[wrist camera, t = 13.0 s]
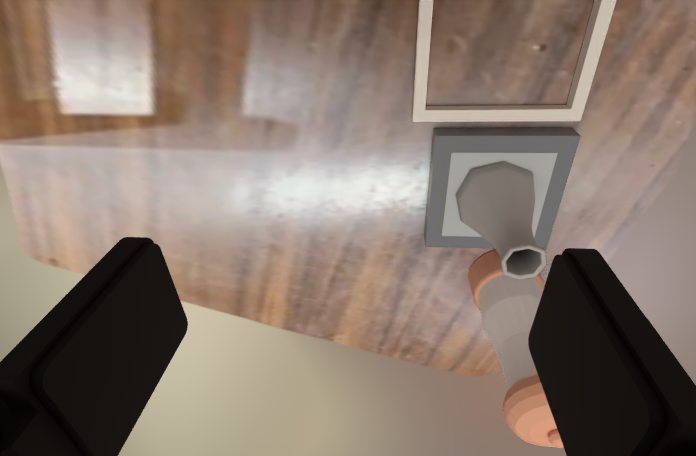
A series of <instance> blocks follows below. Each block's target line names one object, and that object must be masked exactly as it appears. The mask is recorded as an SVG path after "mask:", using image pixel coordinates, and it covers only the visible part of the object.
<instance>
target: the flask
mask: <svg viewBox="0 0 696 456" xmlns="http://www.w3.org/2000/svg"><path fill="white" fill-rule="evenodd" d="M456 200H457V205H458V210H459V216H460V221H462V222H463V223H464V224H466V225H467V226H468V227H470V228H471V229H473V230H474V231H476V232H477V233H478V234H479V235H481V236H482V237H483V238H484V239H486V240H487V241H488V242H489V243H491V244H492V245H493V247H494V248H495V249H496V251H497V252H498V253H499V255H500V256H501V266H502V273H503V275H506V276H509V277H512V278H515V279H517V280H520V279H526V278H533V277H537V275H538V274H539V273H540V272H541V271H542V270H543V268H544V267H545V266H546V265H547V263H546V251H545V249H544V248H543V247H540V246H538V245H537V243H536V241H535V239H534V237H533V232H532V221H533V213H534V206H535V192H534V178H533V173H532V172H530V171H527V170H524V169H522V168H519V167H516V166H514V165H511V164H509V163H506V162H502V163H497V164H493V165H489V166H484V167H480V168H476V169H471V170H470V172H469V174H468V175H467V177H466V179H465V180H464V182H463V184H462V186H461V187H460V189H459V191H458V192H457V194H456Z"/></svg>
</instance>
